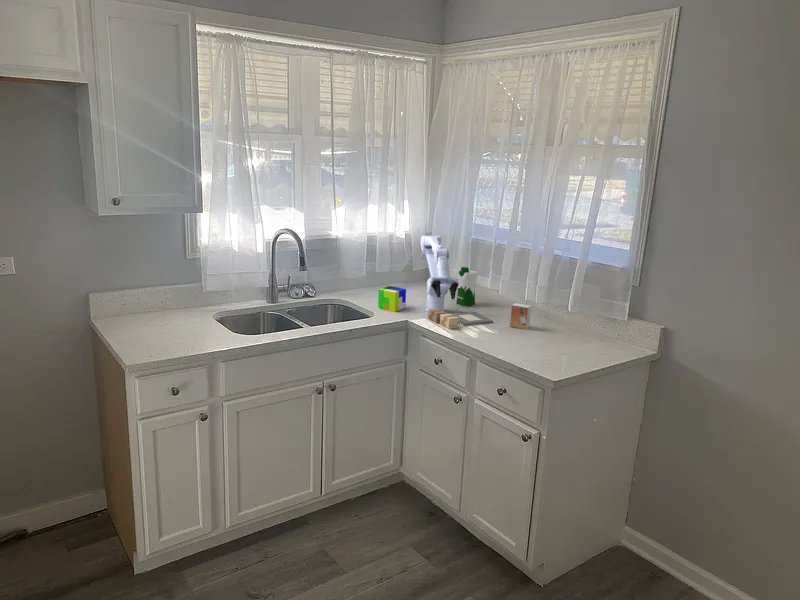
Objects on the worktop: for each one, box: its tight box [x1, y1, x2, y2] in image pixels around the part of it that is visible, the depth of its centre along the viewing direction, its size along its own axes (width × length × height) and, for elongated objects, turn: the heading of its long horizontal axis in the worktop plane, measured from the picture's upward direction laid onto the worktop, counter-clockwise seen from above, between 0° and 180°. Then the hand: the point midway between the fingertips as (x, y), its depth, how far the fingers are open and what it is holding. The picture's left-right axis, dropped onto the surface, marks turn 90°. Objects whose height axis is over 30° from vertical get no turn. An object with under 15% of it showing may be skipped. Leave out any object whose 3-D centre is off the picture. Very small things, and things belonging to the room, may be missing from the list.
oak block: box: [439, 312, 459, 330], centre depth 281 cm, size 8×5×5 cm, turn 26°
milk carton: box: [455, 266, 479, 308], centre depth 318 cm, size 9×9×20 cm
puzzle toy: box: [377, 285, 407, 313], centre depth 307 cm, size 10×10×10 cm
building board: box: [451, 311, 494, 326], centre depth 293 cm, size 16×16×1 cm
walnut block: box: [427, 308, 447, 324], centre depth 289 cm, size 8×5×5 cm, turn 25°
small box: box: [509, 302, 532, 331], centre depth 283 cm, size 8×6×10 cm
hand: (446, 297), depth 283 cm, fingers open, 7 cm apart
